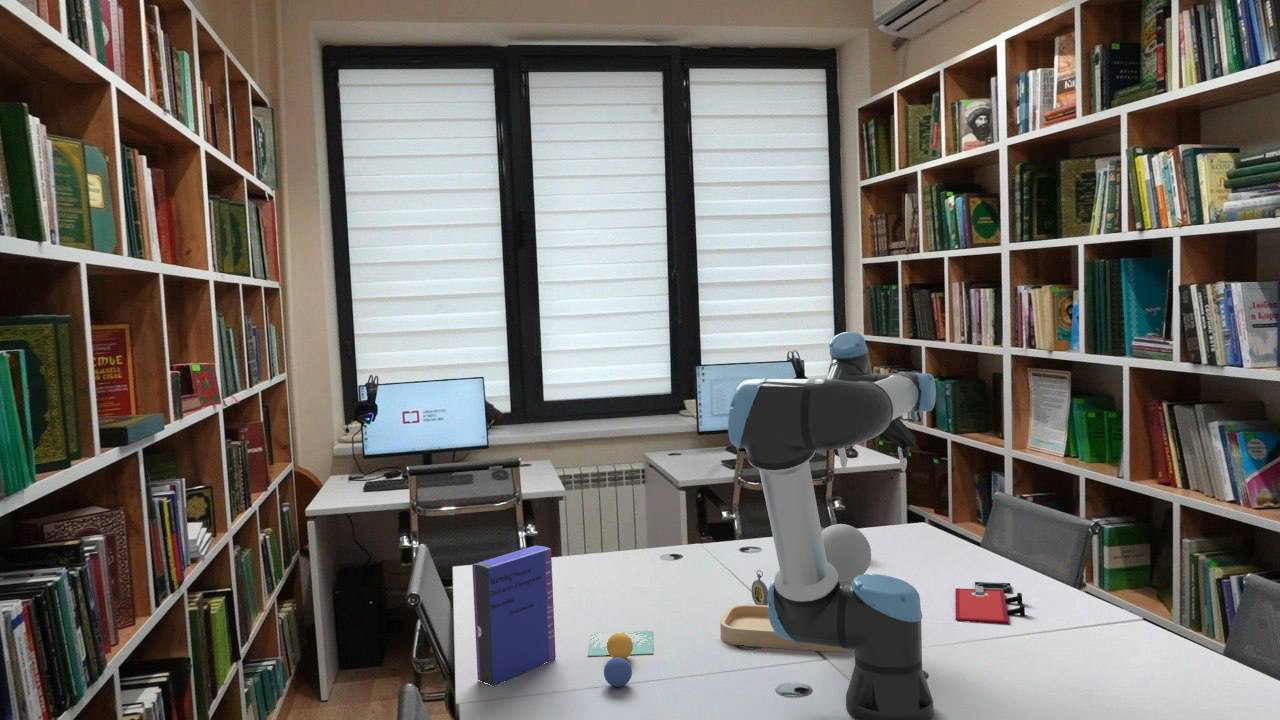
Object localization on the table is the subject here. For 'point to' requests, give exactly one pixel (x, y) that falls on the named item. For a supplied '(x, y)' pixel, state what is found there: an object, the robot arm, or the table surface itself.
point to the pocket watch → (759, 591)
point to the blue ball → (617, 672)
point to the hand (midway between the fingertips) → (874, 465)
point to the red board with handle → (986, 603)
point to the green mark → (636, 649)
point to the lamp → (752, 621)
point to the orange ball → (619, 645)
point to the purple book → (513, 614)
